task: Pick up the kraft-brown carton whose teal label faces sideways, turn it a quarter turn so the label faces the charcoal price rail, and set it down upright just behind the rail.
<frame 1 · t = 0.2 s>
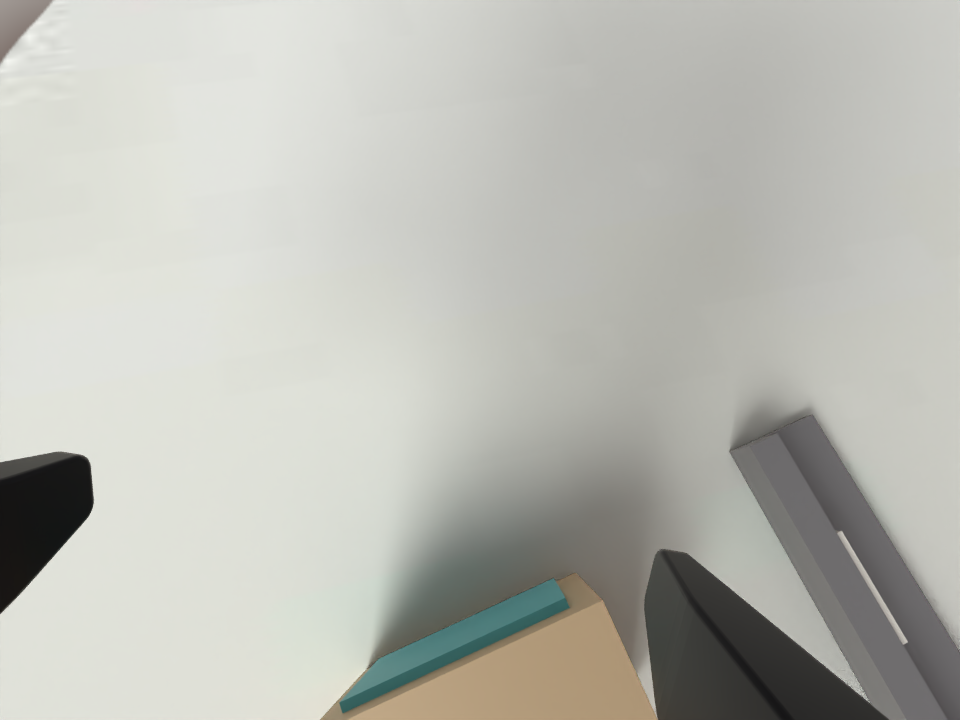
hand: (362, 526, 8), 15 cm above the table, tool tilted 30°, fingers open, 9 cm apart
carton: (495, 678, 21), on the table
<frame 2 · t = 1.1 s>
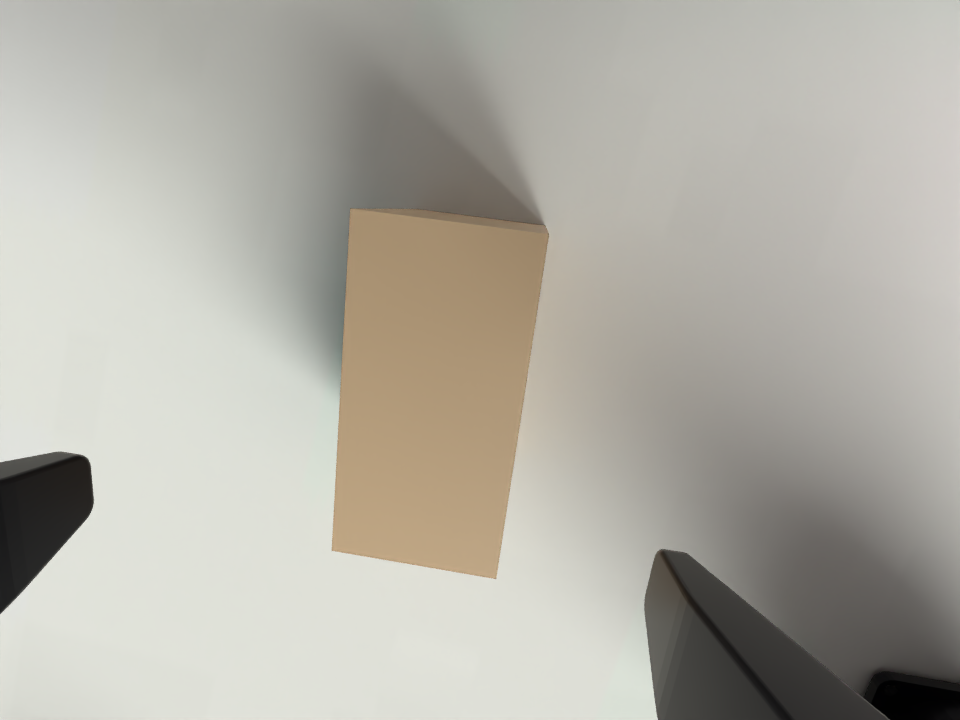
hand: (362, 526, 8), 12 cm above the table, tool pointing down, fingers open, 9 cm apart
carton: (465, 342, 20), on the table
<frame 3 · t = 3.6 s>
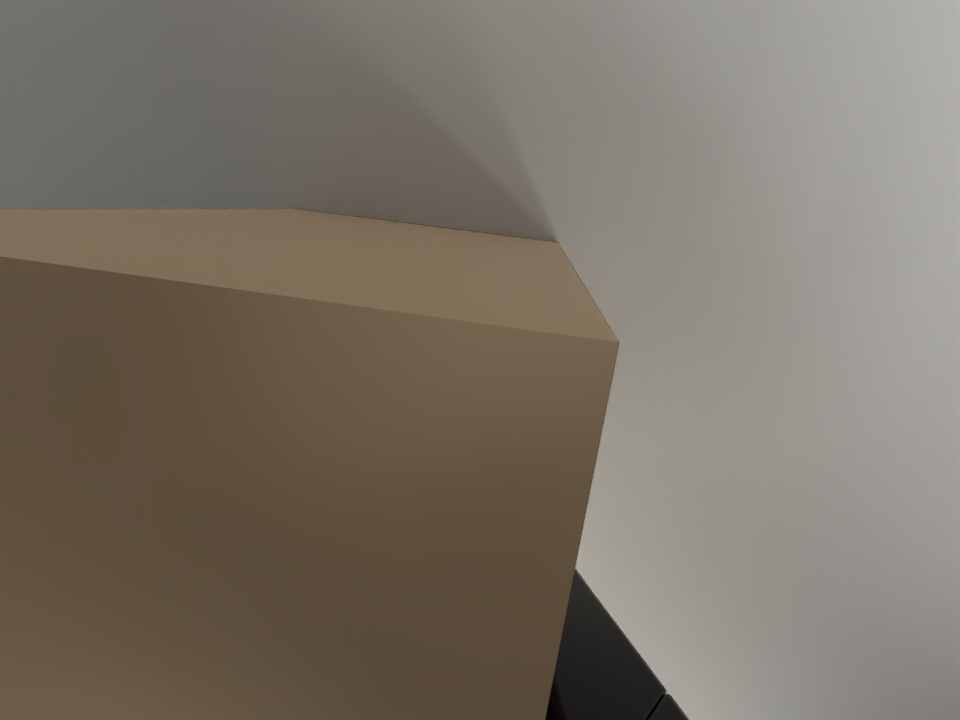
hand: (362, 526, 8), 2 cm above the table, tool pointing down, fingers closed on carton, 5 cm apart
carton: (403, 466, 10), on the table, touching gripper
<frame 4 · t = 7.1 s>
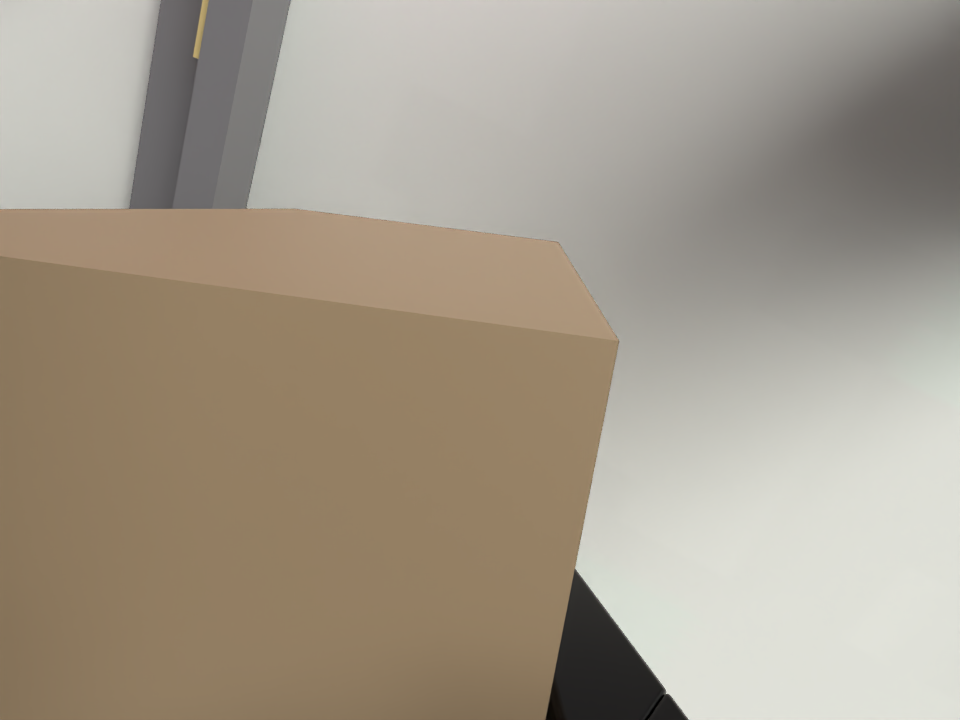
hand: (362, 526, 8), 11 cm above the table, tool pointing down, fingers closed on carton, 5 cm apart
carton: (403, 466, 10), point 9 cm above the table, touching gripper
price rail: (234, 176, 18), on the table
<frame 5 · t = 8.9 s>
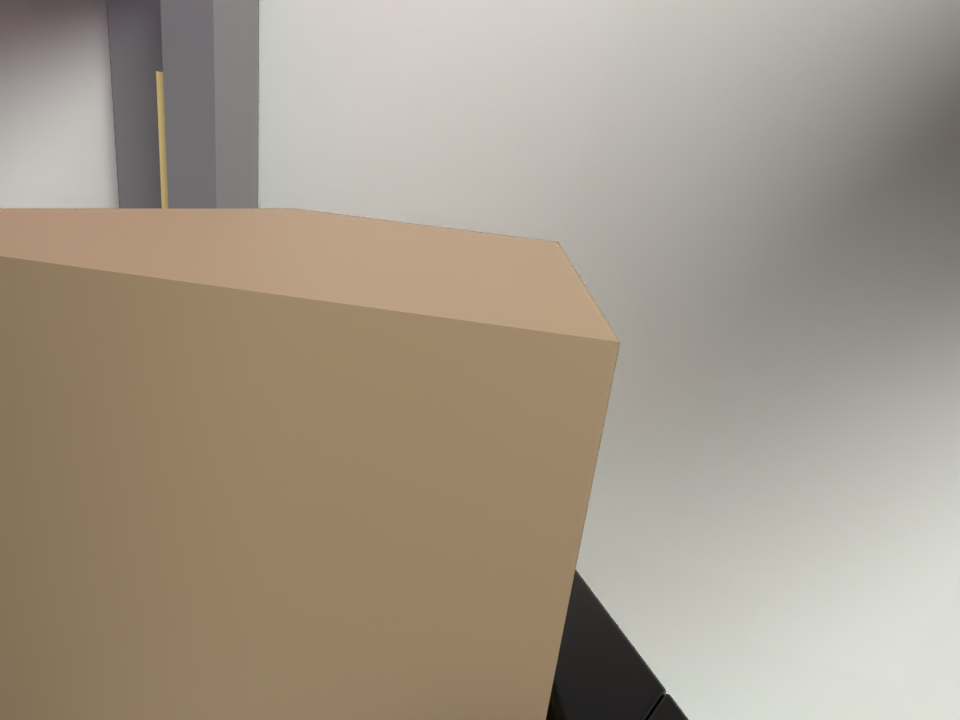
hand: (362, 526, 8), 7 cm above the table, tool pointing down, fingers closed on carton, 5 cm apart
carton: (402, 466, 10), point 5 cm above the table, touching gripper
price rail: (237, 352, 16), on the table
when the fingers open (3 cm above the table, at t = 10.5 s): carton drops 2 cm, on the table.
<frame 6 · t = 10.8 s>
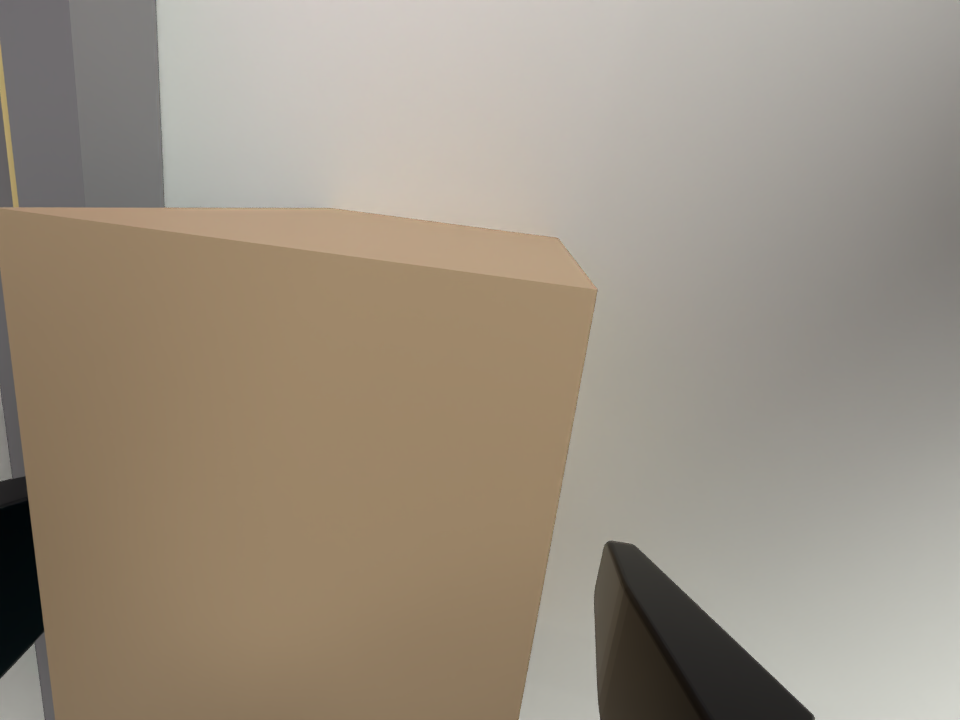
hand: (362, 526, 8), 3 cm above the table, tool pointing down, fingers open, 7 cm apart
carton: (421, 433, 12), on the table
price rail: (146, 395, 12), on the table
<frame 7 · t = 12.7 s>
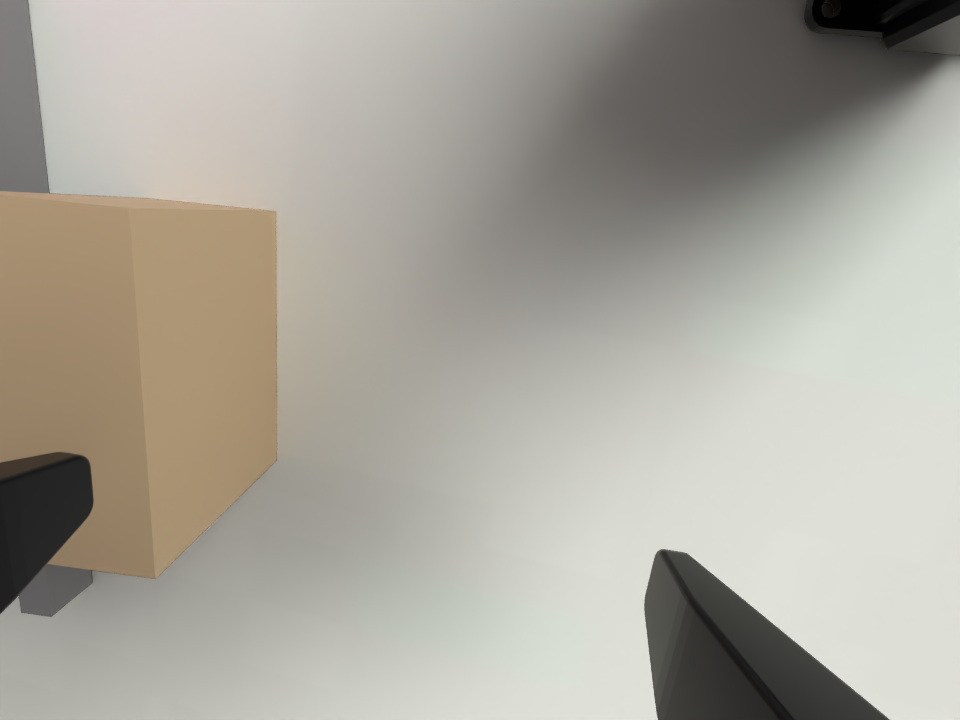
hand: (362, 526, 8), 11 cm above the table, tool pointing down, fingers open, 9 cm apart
carton: (216, 335, 19), on the table
price rail: (47, 318, 20), on the table
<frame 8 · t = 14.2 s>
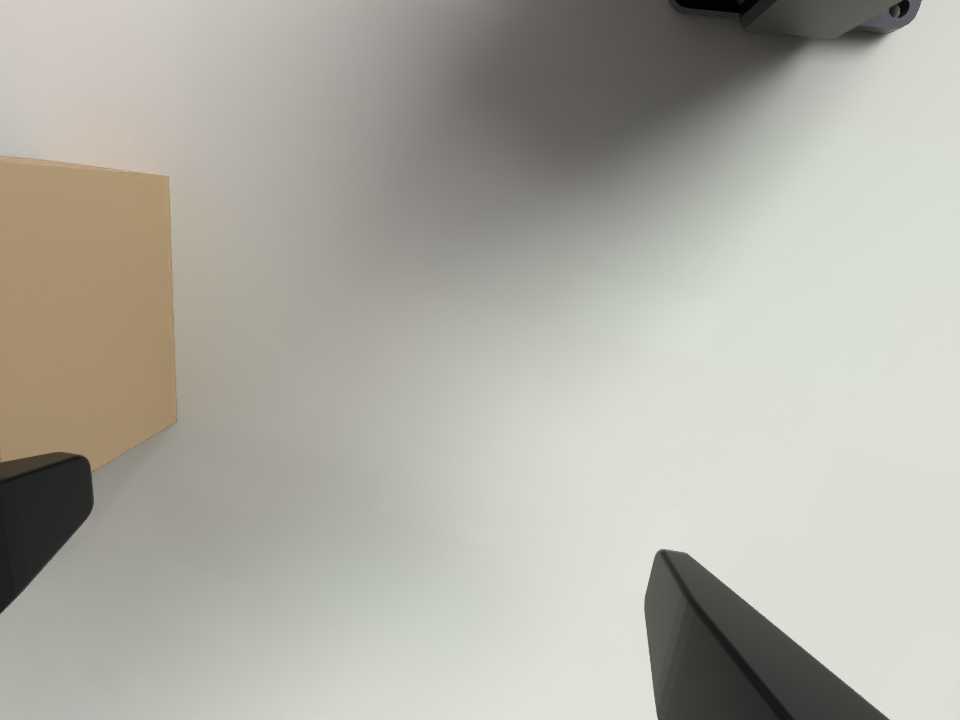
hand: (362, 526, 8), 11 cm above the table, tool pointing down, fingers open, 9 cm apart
carton: (115, 297, 20), on the table
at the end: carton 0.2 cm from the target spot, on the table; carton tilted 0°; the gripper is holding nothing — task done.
